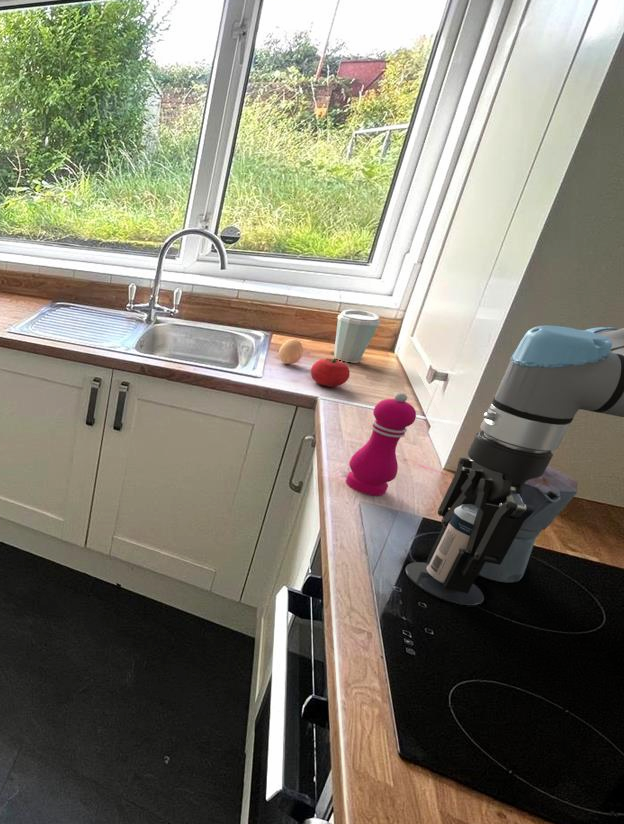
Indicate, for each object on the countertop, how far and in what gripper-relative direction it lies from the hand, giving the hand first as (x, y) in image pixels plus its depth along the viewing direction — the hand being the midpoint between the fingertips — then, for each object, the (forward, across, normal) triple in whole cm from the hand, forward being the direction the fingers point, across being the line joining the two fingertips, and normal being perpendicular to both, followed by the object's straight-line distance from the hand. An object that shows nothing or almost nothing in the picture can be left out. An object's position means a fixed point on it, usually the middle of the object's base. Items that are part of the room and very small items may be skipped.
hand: (446, 576), depth 87 cm
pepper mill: (+2, -28, -2) cm, 28 cm away
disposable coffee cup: (+2, -114, +18) cm, 116 cm away
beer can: (+1, 0, 0) cm, 1 cm away
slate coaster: (+1, 0, 0) cm, 1 cm away
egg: (+2, -102, 0) cm, 102 cm away
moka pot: (+2, -9, +8) cm, 12 cm away
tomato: (+2, -87, +6) cm, 87 cm away
